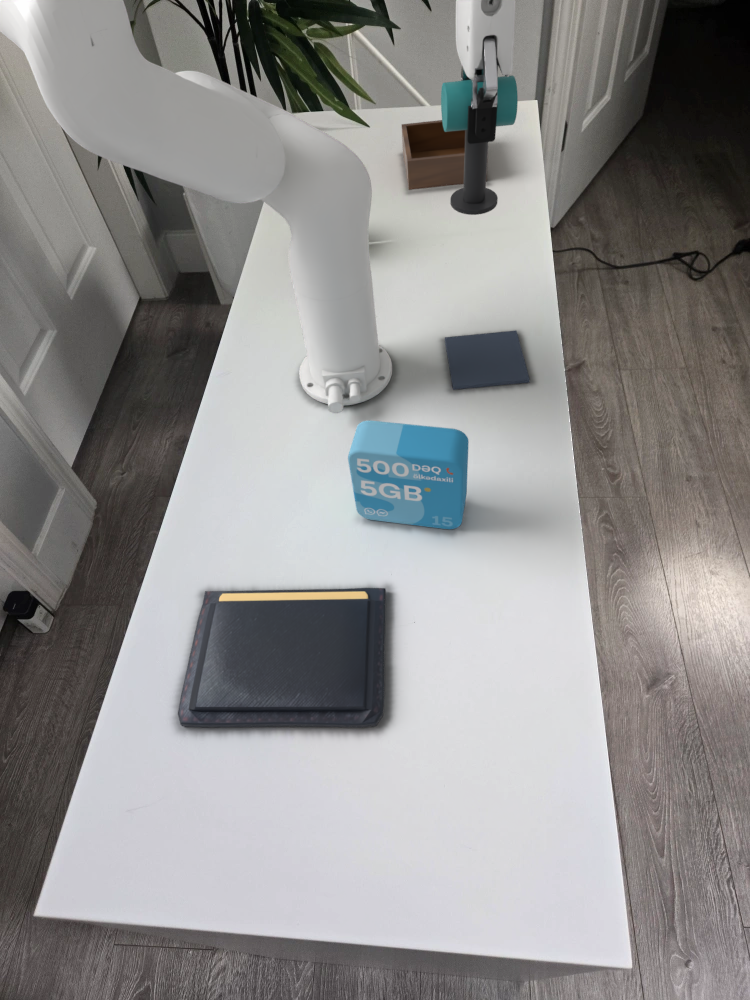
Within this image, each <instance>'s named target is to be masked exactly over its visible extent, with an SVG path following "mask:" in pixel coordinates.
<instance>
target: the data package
mask: <svg viewBox="0 0 750 1000" xmlns="http://www.w3.org/2000/svg"><path fill="white" fill-rule="evenodd" d="M347 461H348V468H349V474H350V479H351V486H352V490H353V497H354V503H355V509H356V512H357V514H358V515H360V516H361V517H362V518H364V519H367V520H370V521H377V522H388V523H394V524H402V525H410V526H416V527H417V526H418V527H419V526H420V527H427V528H434V529H442V530H454V529H457V528H460V526H461V525H462V523H463V517H464V511H465V506H466V499H467V493H468V469H469V466H468V465H469V437H468V435H467V434H466V433H465V432H463V430H460V429H458V428H453V427H441V426H433V425H420V424H411V423H403V422H402V423H401V422H400V423H399V422H392V421H391V422H390V421H381V420H371V419H369V420H363V421H360V422H359V423H358V424H357V425H356V429H355V432H354V434H353V439H352V441H351V445H350V448H349V452H348V455H347Z"/></svg>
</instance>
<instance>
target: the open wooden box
mask: <svg viewBox="0 0 750 1000" xmlns="http://www.w3.org/2000/svg"><path fill="white" fill-rule="evenodd" d="M401 142H402V143H401V144H402V154H403V155H402V156H403V162H404V168H405V176H406V181H407V189H408V190H409V191H413V190H420V189H421V190H422V189H428V188H429V189H430V188H431V189H432V188H441V187H451V186H460V185H464V156H465V130H459V131H449V132H445V131H444V128H443V123H442V119H438V120H430V121H429V120H428V121H420V122H419V121H418V122H411V123H402V124H401ZM488 159H489V156H488V157H487V163H489V162H488V161H489V160H488ZM487 181H488V173H487V174H486V183H487Z"/></svg>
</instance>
